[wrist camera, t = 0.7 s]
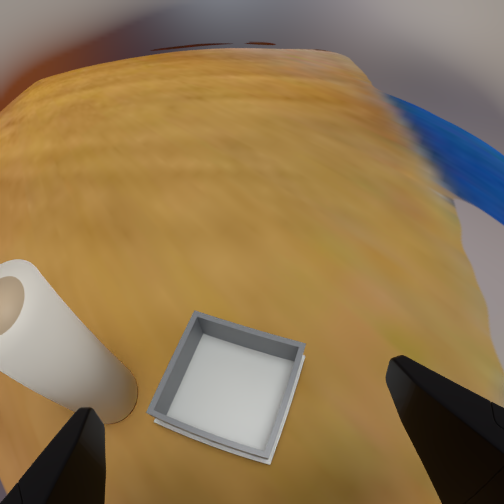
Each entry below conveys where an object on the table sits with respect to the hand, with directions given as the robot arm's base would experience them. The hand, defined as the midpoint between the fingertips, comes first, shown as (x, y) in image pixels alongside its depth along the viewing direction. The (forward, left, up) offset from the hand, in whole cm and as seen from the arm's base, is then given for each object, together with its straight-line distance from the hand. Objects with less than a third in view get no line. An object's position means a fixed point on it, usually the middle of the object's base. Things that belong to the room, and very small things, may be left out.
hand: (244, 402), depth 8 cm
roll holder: (+3, +3, -15) cm, 16 cm away
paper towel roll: (-1, +12, -15) cm, 20 cm away
